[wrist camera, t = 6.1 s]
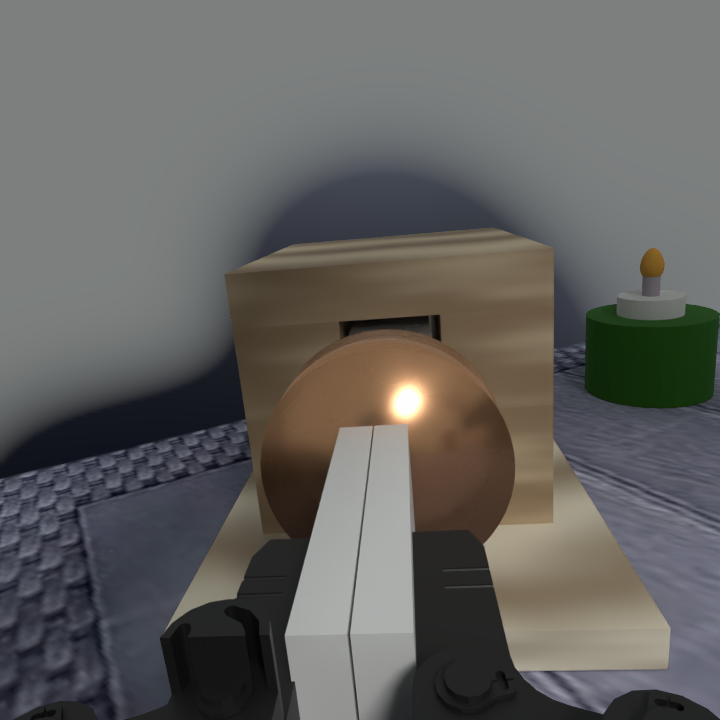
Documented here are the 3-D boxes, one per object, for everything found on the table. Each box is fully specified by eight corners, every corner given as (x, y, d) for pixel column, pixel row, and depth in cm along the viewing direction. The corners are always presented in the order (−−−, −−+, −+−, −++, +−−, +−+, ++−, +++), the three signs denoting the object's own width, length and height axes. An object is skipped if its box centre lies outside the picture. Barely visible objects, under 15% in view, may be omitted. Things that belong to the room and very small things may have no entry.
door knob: (340, 389, 30) (328, 272, 28) (459, 382, 29) (453, 262, 27) (277, 584, 15) (244, 358, 13) (517, 578, 14) (513, 340, 13)
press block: (288, 431, 40) (264, 245, 36) (527, 418, 38) (525, 224, 35) (168, 676, 19) (89, 307, 16) (667, 669, 18) (694, 261, 15)
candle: (589, 369, 47) (591, 244, 44) (707, 373, 44) (717, 238, 41) (579, 404, 40) (581, 258, 37) (720, 413, 36) (733, 252, 34)
